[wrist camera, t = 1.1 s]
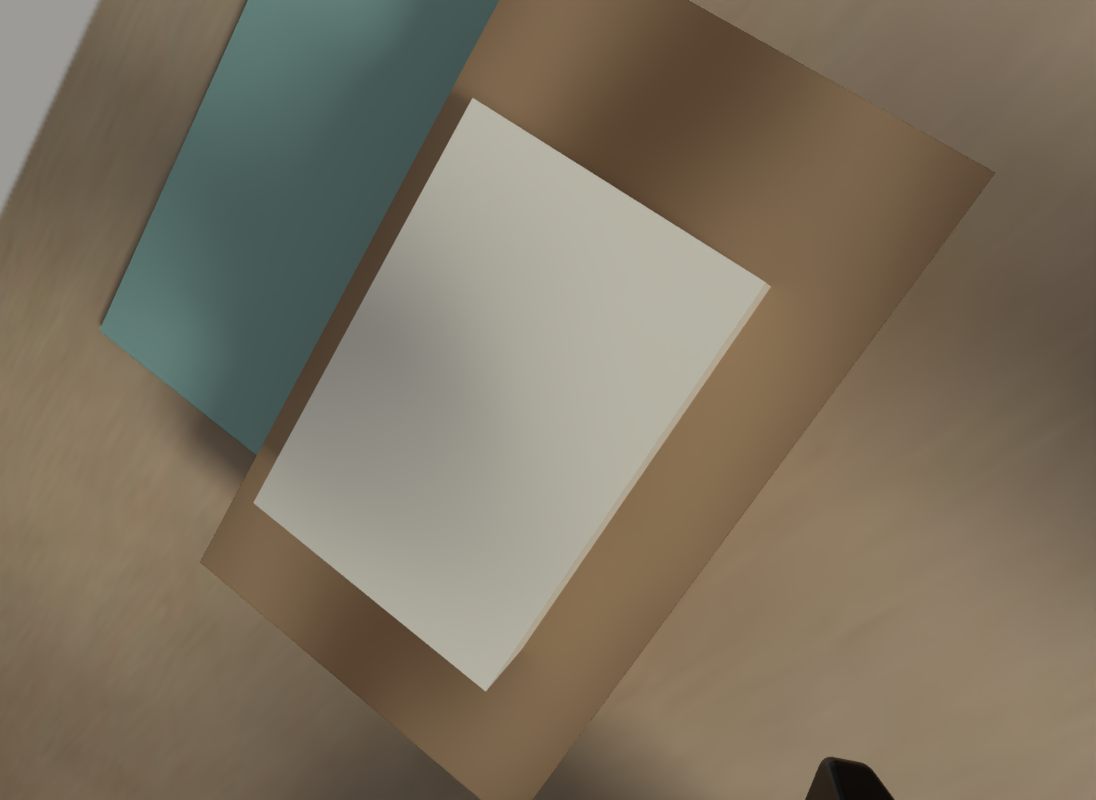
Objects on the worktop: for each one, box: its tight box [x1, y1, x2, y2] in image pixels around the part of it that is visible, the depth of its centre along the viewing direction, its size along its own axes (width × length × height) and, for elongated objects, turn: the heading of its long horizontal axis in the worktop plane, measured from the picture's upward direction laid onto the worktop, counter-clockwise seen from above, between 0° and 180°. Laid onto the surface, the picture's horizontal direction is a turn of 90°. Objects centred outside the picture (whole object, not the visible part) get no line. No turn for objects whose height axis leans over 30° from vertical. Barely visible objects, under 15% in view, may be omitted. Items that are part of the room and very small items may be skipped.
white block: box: [254, 98, 771, 691], centre depth 16 cm, size 6×9×2 cm, turn 147°
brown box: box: [200, 0, 995, 800], centre depth 18 cm, size 10×16×4 cm, turn 147°
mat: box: [99, 0, 499, 455], centre depth 22 cm, size 9×14×1 cm, turn 147°
